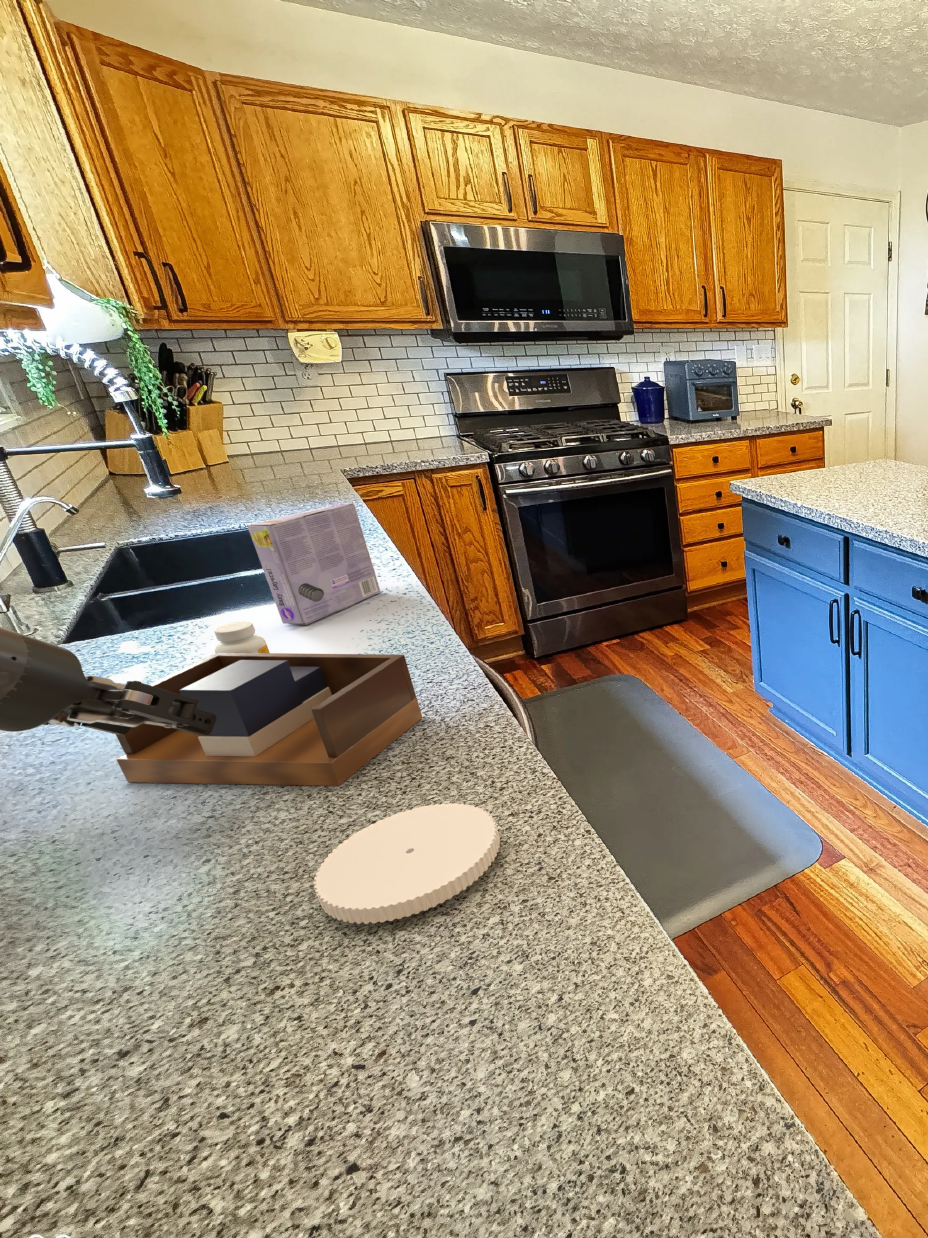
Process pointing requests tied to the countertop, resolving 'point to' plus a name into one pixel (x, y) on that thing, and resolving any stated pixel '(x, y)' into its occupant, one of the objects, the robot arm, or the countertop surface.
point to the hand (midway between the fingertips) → (169, 725)
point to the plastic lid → (407, 863)
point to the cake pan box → (315, 562)
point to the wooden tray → (312, 754)
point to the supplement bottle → (239, 639)
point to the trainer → (256, 704)
